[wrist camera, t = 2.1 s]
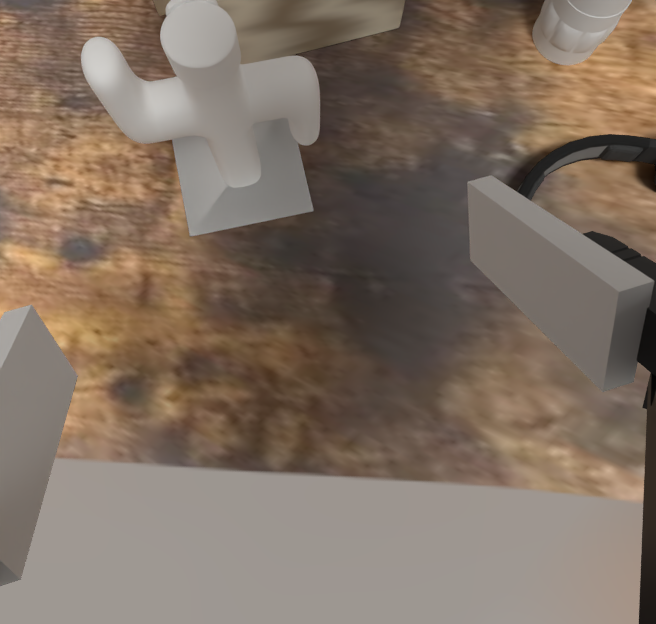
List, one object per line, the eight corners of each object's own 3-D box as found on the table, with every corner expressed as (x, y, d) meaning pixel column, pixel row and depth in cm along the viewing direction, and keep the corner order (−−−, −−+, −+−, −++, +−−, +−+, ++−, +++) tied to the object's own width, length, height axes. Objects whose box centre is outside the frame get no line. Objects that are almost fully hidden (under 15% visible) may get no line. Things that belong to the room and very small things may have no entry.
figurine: (330, 229, 33) (341, 85, 19) (186, 259, 33) (80, 135, 18) (306, 129, 35) (299, -78, 20) (168, 157, 34) (54, -37, 19)
